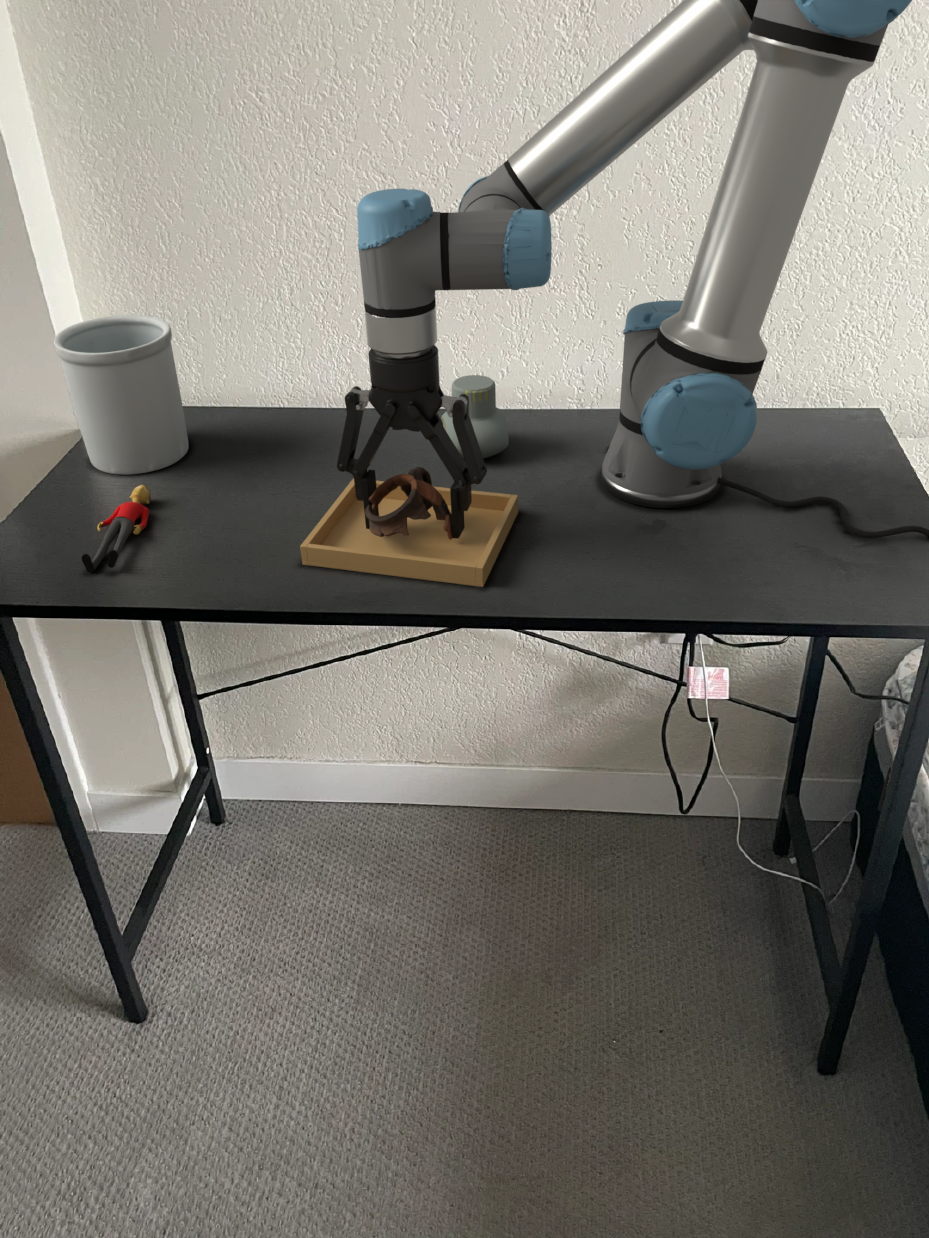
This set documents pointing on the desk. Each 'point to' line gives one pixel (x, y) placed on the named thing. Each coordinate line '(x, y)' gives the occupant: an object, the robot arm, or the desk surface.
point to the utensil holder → (125, 392)
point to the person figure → (121, 527)
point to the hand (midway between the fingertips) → (415, 528)
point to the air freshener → (480, 415)
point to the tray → (413, 539)
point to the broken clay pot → (408, 504)
